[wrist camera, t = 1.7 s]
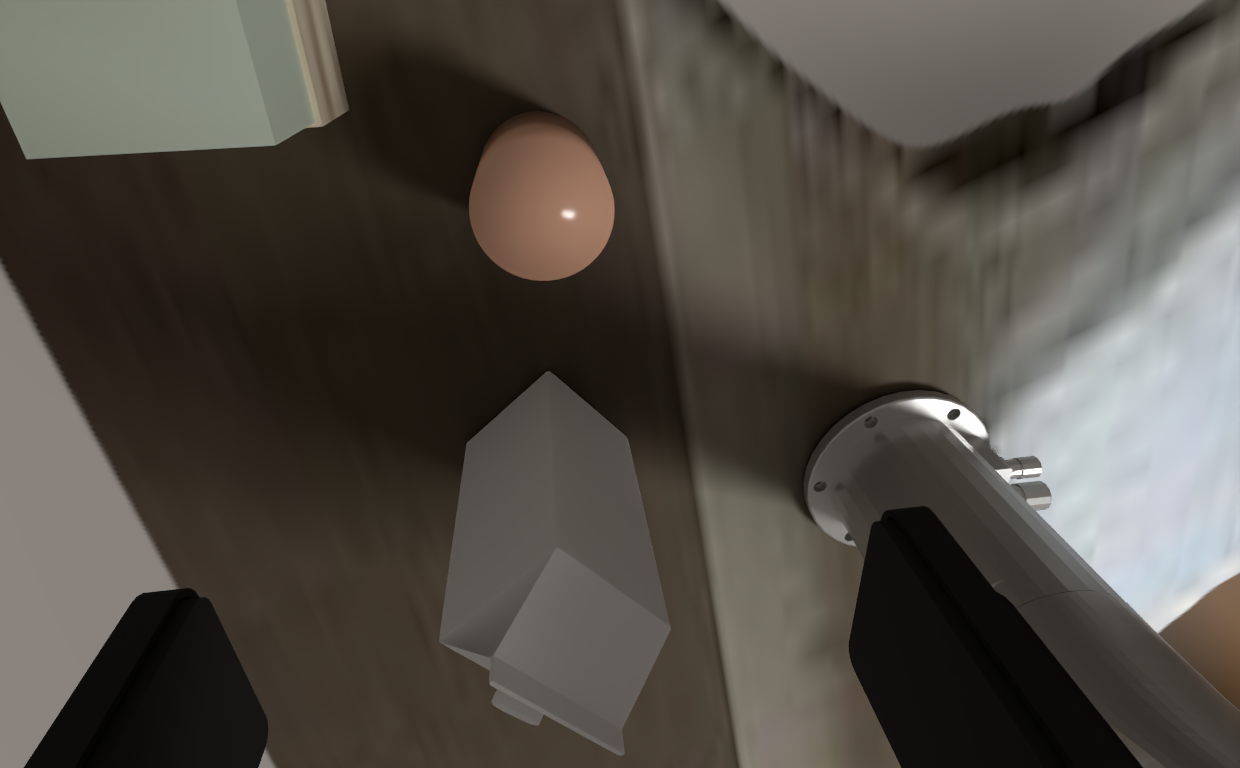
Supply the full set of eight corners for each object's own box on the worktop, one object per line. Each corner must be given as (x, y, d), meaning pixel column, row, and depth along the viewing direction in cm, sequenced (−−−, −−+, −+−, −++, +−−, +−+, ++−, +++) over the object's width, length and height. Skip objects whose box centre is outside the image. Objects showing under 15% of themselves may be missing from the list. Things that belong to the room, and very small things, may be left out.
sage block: (255, -122, 24) (194, -149, 19) (315, 121, 28) (275, 145, 23) (9, -117, 23) (-111, -143, 19) (107, 132, 27) (26, 159, 23)
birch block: (298, -129, 28) (255, -152, 23) (350, 109, 32) (322, 126, 28) (62, -123, 27) (-28, -145, 22) (149, 120, 31) (89, 139, 27)
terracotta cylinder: (596, 107, 33) (611, 132, 27) (602, 228, 36) (617, 275, 30) (471, 114, 33) (458, 141, 26) (487, 236, 36) (479, 286, 29)
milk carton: (547, 367, 40) (561, 628, 23) (628, 436, 43) (690, 710, 26) (465, 441, 42) (424, 731, 25) (548, 502, 45) (560, 797, 28)
